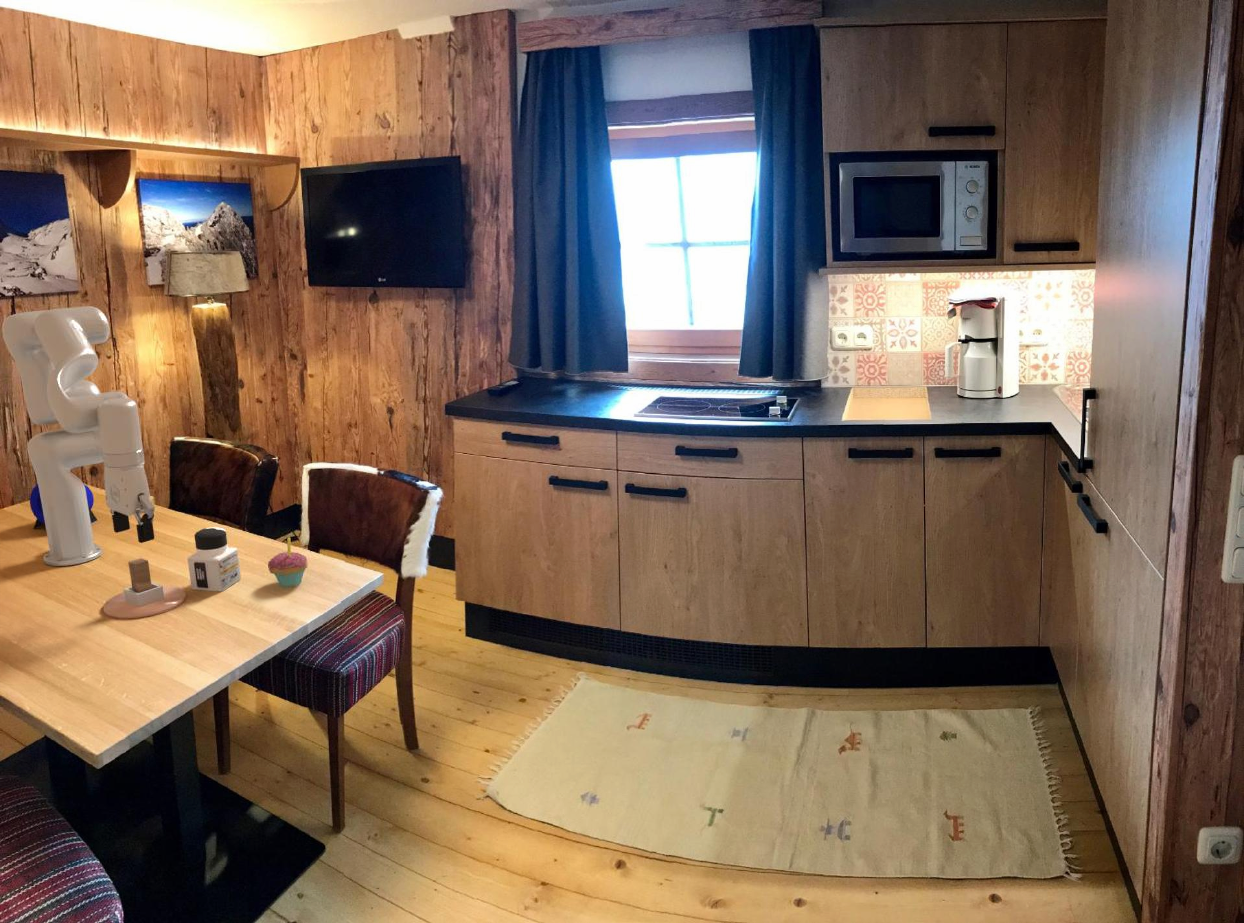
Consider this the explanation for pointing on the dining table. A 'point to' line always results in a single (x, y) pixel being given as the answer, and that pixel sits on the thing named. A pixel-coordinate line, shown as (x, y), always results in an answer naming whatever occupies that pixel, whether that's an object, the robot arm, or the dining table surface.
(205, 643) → the dining table surface
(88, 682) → the dining table surface
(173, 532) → the dining table surface
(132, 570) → the wooden square post
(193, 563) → the container
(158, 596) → the clip base
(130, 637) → the dining table surface
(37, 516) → the alarm clock
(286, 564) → the cupcake
